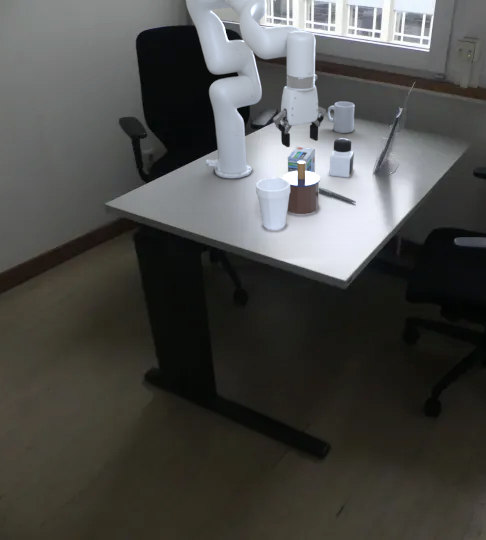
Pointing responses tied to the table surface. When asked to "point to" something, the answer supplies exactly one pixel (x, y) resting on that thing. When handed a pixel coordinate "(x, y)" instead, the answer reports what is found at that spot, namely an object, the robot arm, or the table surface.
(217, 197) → the table surface
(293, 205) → the brown cup
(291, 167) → the light bulb box
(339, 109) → the mug
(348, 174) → the medicine bottle
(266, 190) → the foam cup
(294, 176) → the lid
